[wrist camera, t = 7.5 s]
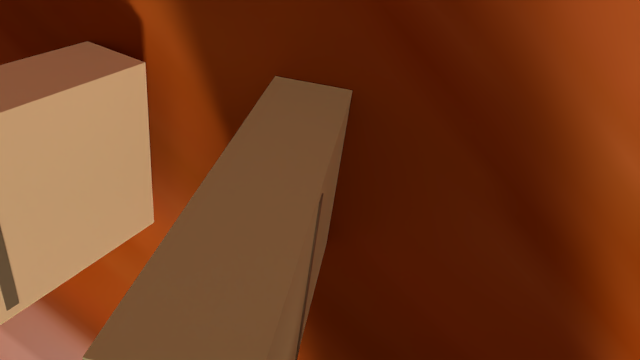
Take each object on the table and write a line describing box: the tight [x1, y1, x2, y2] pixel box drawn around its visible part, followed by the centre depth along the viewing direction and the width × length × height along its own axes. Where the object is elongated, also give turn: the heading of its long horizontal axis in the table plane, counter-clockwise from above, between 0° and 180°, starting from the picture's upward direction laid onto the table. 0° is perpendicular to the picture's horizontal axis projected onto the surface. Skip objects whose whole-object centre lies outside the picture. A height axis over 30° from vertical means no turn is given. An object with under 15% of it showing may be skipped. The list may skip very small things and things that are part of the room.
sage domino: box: [83, 76, 353, 360], centre depth 11 cm, size 2×5×9 cm, turn 174°
